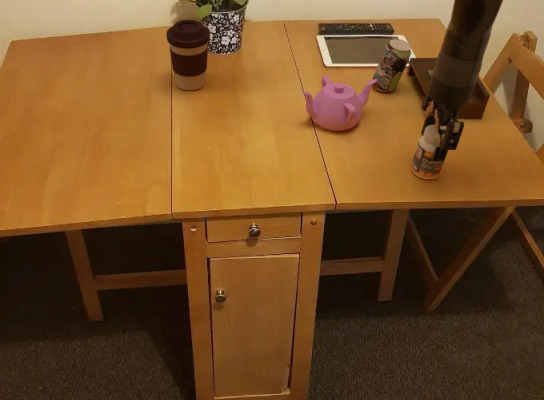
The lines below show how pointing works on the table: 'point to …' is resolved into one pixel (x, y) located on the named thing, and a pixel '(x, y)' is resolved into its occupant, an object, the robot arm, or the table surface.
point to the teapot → (337, 105)
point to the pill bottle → (427, 155)
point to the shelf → (468, 111)
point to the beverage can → (392, 65)
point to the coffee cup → (189, 53)
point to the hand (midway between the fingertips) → (432, 147)
